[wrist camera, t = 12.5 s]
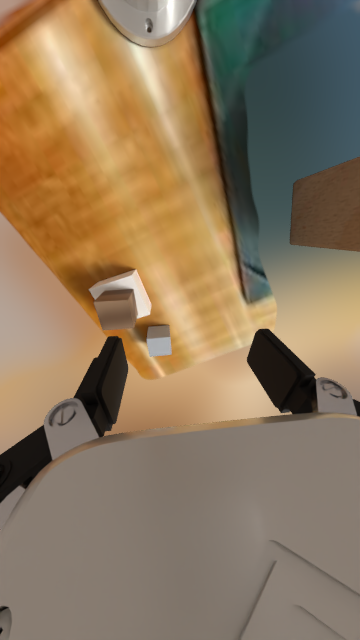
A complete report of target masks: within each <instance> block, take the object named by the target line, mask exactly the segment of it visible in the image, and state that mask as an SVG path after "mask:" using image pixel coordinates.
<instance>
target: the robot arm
mask: <svg viewBox="0 0 360 640" xmlns="http://www.w3.org/2000/svg"><path fill="white" fill-rule="evenodd" d="M98 1H99V3H100V5H101V7H102V8H103V10H104V12H105V13H106V15H107V16H108V18H109V19H110V21H111V22H112V23H113V24H114V25H115V26H116V27H117V29H118V30H119V31H120V32H121V33H122V34H123V35H125V36H126V37H127V38H129V39H130V40H131V41H133V42H135V43H137V44H140V45H142V46H148V47H156V46H161V45H164V44H166V43H167V42H169V41H171V40H173V39H174V38H175V37H176V36H177V35H178V33H179V32H180V31H181V30H182V29H183V27H184V26H185V24H186V23H187V21H188V19H189V18H190V15H191V13H192V11H193V8H194V6H195V4H196V1H197V0H98ZM149 31H150V32H151V33H148V32H149ZM247 362H248V364H249V366H250V367H251V369H252V371H253V372H254V374H255V375H256V377H257V379H258V380H259V382H260V383H261V385H262V387H263V388H264V390H265V391H266V393H267V395H268V396H269V398H270V399H271V401H272V403H273V404H274V405H275V407H277V408H278V409H279V411H280V412H281V413H286V412H290V411H291V412H292V415H281V416H271V417H260V418H251V419H241V420H231V421H222V422H213V423H203V424H193V425H184V426H176V427H167V428H157V429H149V430H141V431H134V432H126V433H119V434H114V435H108V436H104V433H105V431H111V428H112V425H113V424H115V423H116V421H117V416H118V412H119V408H120V403H121V399H122V395H123V391H124V386H125V382H126V378H127V374H128V364H127V360H126V356H125V351H124V347H123V343H122V339H121V338H119V337H118V336H110V337H108V338H107V340H106V342H105V344H104V346H103V348H102V350H101V352H100V354H99V356H98V357H97V358H94V359H93V361H92V363H91V365H90V367H89V369H88V371H87V373H86V375H85V376H84V378H83V381H82V382H81V384H80V386H79V388H78V390H77V392H76V394H75V396H74V398H70V399H66V400H64V401H62V402H60V403H58V404H57V405H55V406H54V407H53V408H52V409H51V410H50V411H49V412H48V414H47V415H46V417H45V420H44V425H43V426H41V427H40V428H38V429H37V430H36V431H34V432H33V433H31V434H30V435H28V436H27V437H25V438H24V439H22V440H21V441H20V442H18V443H17V444H15V445H14V446H12V447H11V448H10V449H8V450H7V451H5V452H4V453H2V454H1V455H0V530H1V531H0V640H360V402H358V401H356V400H354V399H352V396H351V394H350V392H349V391H348V390H347V389H346V388H345V387H344V386H342V385H341V384H339V383H338V382H336V381H334V380H331V379H328V378H322V377H321V378H318V379H317V380H316V379H315V378H314V376H315V373H314V372H313V371H312V370H311V369H309V368H308V367H307V366H306V365H305V364H304V363H303V362H302V361H301V360H300V359H299V358H298V357H297V356H296V355H295V354H294V353H293V352H292V351H291V350H290V349H288V347H287V346H286V345H285V344H284V343H282V341H280V340H279V339H278V338H277V337H276V336H275V335H274V334H273V333H272V332H271V331H270V330H269V329H259V330H258V331H257V332H256V333H255V336H254V339H253V342H252V345H251V348H250V351H249V354H248V357H247ZM103 436H104V437H103Z"/></svg>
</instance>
